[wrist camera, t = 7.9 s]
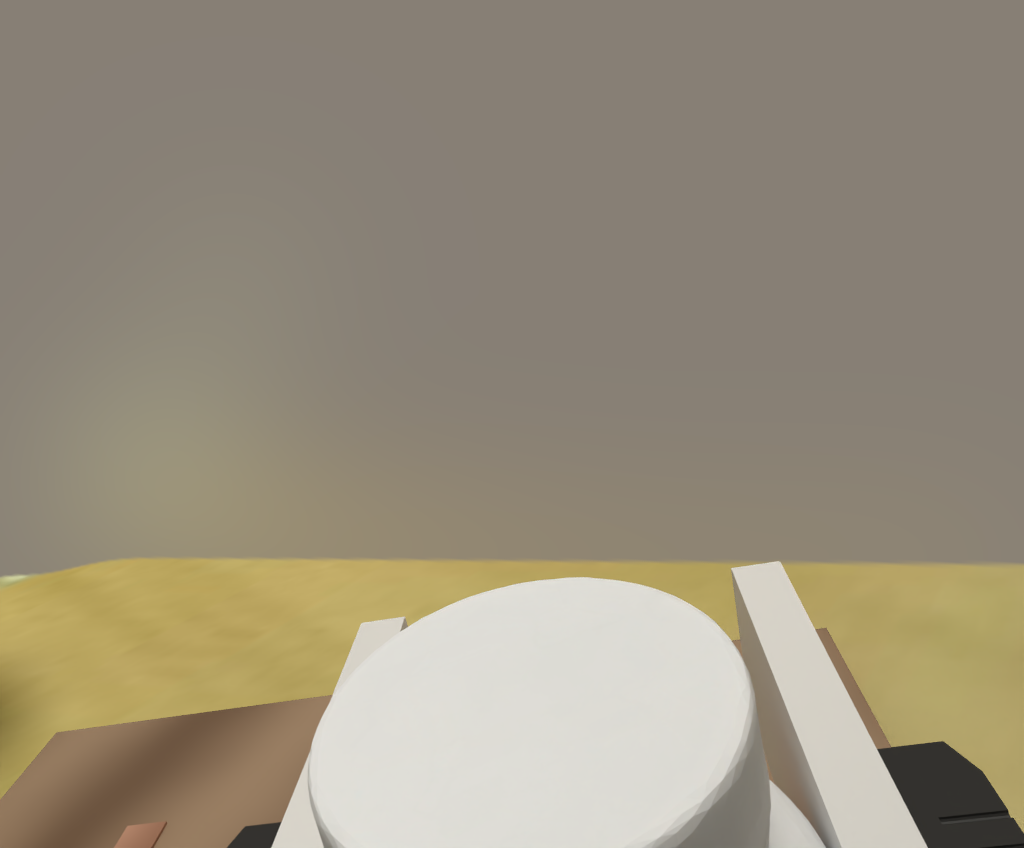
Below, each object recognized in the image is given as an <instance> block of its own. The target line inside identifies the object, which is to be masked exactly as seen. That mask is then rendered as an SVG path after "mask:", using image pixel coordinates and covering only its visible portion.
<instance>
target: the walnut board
mask: <svg viewBox="0 0 1024 848" xmlns="http://www.w3.org/2000/svg"><path fill="white" fill-rule="evenodd" d="M815 630H816V632H817V634H818V636H819V638H820V640H821V642H822V644H823V646H824V648H825V650H826V652H827V654H828V656H829V657H830V659H831V661H832V663H833V665H834V667H835V669H836V671H837V673H838V675H839V677H840V679H841V681H842V683H843V685H844V687H845V688H846V690H847V692H848V694H849V696H850V698H851V700H852V702H853V704H854V706H855V708H856V710H857V712H858V714H859V716H860V717H861V719H862V721H863V723H864V725H865V727H866V729H867V731H868V733H869V735H870V737H871V739H872V741H873V743H874V745H875V747H876V748H877V749H882V748H891V746H890V744H889V742H888V740H887V738H886V737H885V735H884V733H883V731H882V729H881V727H880V726H879V724H878V722H877V720H876V718H875V716H874V715H873V713H872V711H871V709H870V707H869V705H868V704H867V702H866V700H865V698H864V696H863V694H862V693H861V691H860V689H859V687H858V685H857V683H856V682H855V680H854V678H853V676H852V674H851V672H850V671H849V669H848V667H847V665H846V663H845V661H844V659H843V658H842V656H841V654H840V652H839V650H838V648H837V647H836V645H835V643H834V641H833V639H832V637H831V636H830V634H829V632H828V630H827V628H822V629H815ZM732 642H733V644H734V645H735V647H736V648H737V649H738V651H739V652H740V654H741V656H742V648H741V640H733V641H732ZM742 659H743V656H742ZM331 698H332V695H329V696H322V697H314V698H307V699H300V700H292V701H285V702H278V703H270V704H263V705H256V706H248V707H241V708H234V709H226V710H219V711H212V712H204V713H197V714H190V715H182V716H175V717H167V718H160V719H153V720H145V721H138V722H131V723H123V724H116V725H109V726H101V727H94V728H87V729H79V730H72V731H65V732H57V733H56V734H55V735H54V736H53V737H52V739H51V740H50V741H49V742H48V743H47V745H46V746H45V747H44V748H43V749H42V751H41V752H40V753H39V754H38V755H37V757H36V758H35V759H34V760H33V761H32V763H31V764H30V765H29V766H28V767H27V769H26V770H25V771H24V772H23V773H22V775H21V776H20V777H19V778H18V779H17V780H16V782H15V783H14V784H13V785H12V786H11V788H10V789H9V790H8V791H7V792H6V794H5V795H4V796H3V797H2V798H1V800H0V848H227V847H228V845H229V844H230V843H231V842H232V841H233V840H234V839H235V837H236V836H237V835H238V834H239V833H240V832H241V830H242V829H243V828H244V827H245V826H252V825H260V824H268V823H277V822H282V820H283V817H284V815H285V812H286V810H287V807H288V805H289V802H290V800H291V797H292V795H293V792H294V790H295V788H296V785H297V783H298V780H299V778H300V775H301V773H302V770H303V768H304V765H305V763H306V760H307V758H308V755H309V753H310V750H311V745H312V741H313V738H314V735H315V732H316V730H317V727H318V725H319V723H320V720H321V718H322V716H323V714H324V712H325V710H326V708H327V707H328V705H329V703H330V700H331ZM764 755H765V753H764ZM765 759H766V756H765ZM766 764H767V769H768V774H769V780H771V781H772V782H773V783H774V780H773V777H772V774H771V771H770V768H769V765H768V762H767V759H766ZM774 784H775V783H774Z"/></svg>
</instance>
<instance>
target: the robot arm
mask: <svg viewBox="0 0 1024 848" xmlns="http://www.w3.org/2000/svg"><path fill="white" fill-rule="evenodd" d="M731 571H732V579H733V586H734V594H735V602H736V609H737V617H738V625H739V633H740V640H741V648H742V656H743V661H744V663H745V665H746V667H747V669H748V671H749V673H750V677H751V681H752V684H753V688H754V692H755V699H756V705H757V712H758V719H759V726H760V732H761V738H762V744H763V750H764V753H765V756H766V759H767V762H768V765H769V768H770V771H771V774H772V777H773V780H774V783H775V785H776V786H777V787H778V788H779V789H780V790H781V791H782V792H783V793H784V794H785V795H786V796H787V797H788V798H789V799H790V800H791V801H792V802H793V803H794V804H795V805H796V807H797V808H798V809H799V810H800V811H801V812H802V813H803V815H804V816H805V817H806V818H807V820H808V821H809V822H810V824H811V825H812V827H813V828H814V829H815V831H816V832H817V834H818V836H819V837H820V839H821V840H822V842H823V844H824V845H825V847H826V848H1024V833H1023V832H1022V830H1021V829H1020V827H1019V826H1018V824H1017V823H1016V821H1015V820H1014V818H1011V817H1010V816H1009V813H1008V809H1007V808H1006V806H1005V805H1004V803H1003V802H1002V800H1001V799H1000V797H999V796H998V794H997V793H996V791H995V790H994V788H993V787H992V785H991V784H990V782H989V781H988V779H987V778H986V776H985V775H984V773H983V772H982V771H981V770H980V769H979V768H977V767H976V766H975V765H973V764H972V763H971V762H969V761H968V760H967V759H966V758H964V757H963V756H962V755H960V754H959V753H958V752H956V751H955V750H954V749H953V748H951V747H950V746H949V745H947V744H946V743H945V742H943V741H942V742H933V743H925V744H916V745H908V746H899V747H891V748H882V749H877V748H876V747H875V745H874V743H873V741H872V739H871V737H870V735H869V733H868V731H867V729H866V727H865V725H864V723H863V721H862V719H861V717H860V716H859V714H858V712H857V710H856V708H855V706H854V704H853V702H852V700H851V698H850V696H849V694H848V692H847V690H846V688H845V687H844V685H843V683H842V681H841V679H840V677H839V675H838V673H837V671H836V669H835V667H834V665H833V663H832V661H831V659H830V657H829V656H828V654H827V652H826V650H825V648H824V646H823V644H822V642H821V640H820V638H819V636H818V634H817V632H816V630H815V628H814V626H813V625H812V623H811V621H810V619H809V617H808V615H807V613H806V611H805V609H804V607H803V605H802V603H801V601H800V599H799V597H798V595H797V594H796V592H795V590H794V588H793V586H792V584H791V582H790V580H789V578H788V576H787V574H786V572H785V570H784V568H783V566H782V564H781V563H780V561H777V562H770V563H764V564H757V565H750V566H743V567H737V568H731ZM407 627H408V626H407V622H406V619H405V617H399V618H392V619H386V620H379V621H372V622H365V623H361V626H360V628H359V631H358V633H357V636H356V638H355V641H354V643H353V646H352V648H351V651H350V653H349V656H348V658H347V661H346V663H345V666H344V668H343V671H342V673H341V676H340V678H339V680H338V683H337V685H336V688H335V690H334V693H333V695H332V698H333V696H334V695H335V693H336V692H337V690H338V689H339V688H340V686H341V685H342V684H343V683H344V682H345V681H346V679H347V678H348V677H349V676H350V675H351V673H352V672H353V671H354V670H355V669H356V668H357V667H358V666H359V665H360V664H361V663H362V662H363V661H364V660H365V659H367V658H368V657H369V656H370V655H371V654H372V653H373V652H374V651H375V650H376V649H378V648H379V647H380V646H382V645H383V644H384V643H386V642H387V641H388V640H389V639H391V638H392V637H393V636H395V635H396V634H397V633H399V632H401V631H402V630H404V629H405V628H407ZM332 698H331V700H332ZM331 700H330V701H331ZM309 755H310V753H309ZM309 755H308V758H307V760H306V763H305V765H304V768H303V770H302V773H301V775H300V778H299V780H298V783H297V785H296V788H295V790H294V792H293V795H292V797H291V800H290V802H289V805H288V807H287V810H286V812H285V815H284V817H283V820H282V822H277V823H268V824H260V825H252V826H245V827H244V828H243V829H242V830H241V832H240V833H239V834H238V835H237V836H236V837H235V839H234V840H233V841H232V842H231V843H230V844H229V845H228V847H227V848H324V846H323V843H322V840H321V837H320V834H319V831H318V827H317V824H316V821H315V818H314V815H313V812H312V808H311V805H310V798H309V790H308V764H309Z"/></svg>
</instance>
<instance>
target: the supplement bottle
mask: <svg viewBox="0 0 1024 848" xmlns="http://www.w3.org/2000/svg"><path fill="white" fill-rule="evenodd" d="M308 790H309V798H310V805H311V808H312V812H313V815H314V818H315V821H316V824H317V827H318V831H319V834H320V837H321V840H322V843H323V846H324V848H826V847H825V845H824V844H823V842H822V840H821V839H820V837H819V836H818V834H817V832H816V831H815V829H814V828H813V827H812V825H811V824H810V822H809V821H808V820H807V818H806V817H805V816H804V815H803V813H802V812H801V811H800V810H799V809H798V808H797V807H796V805H795V804H794V803H793V802H792V801H791V800H790V799H789V798H788V797H787V796H786V795H785V794H784V793H783V792H782V791H781V790H780V789H779V788H778V787H777V786H776V785H775V784H774V783H773V782H772V781H771V780H769V774H768V769H767V764H766V759H765V755H764V750H763V744H762V738H761V732H760V726H759V719H758V712H757V705H756V699H755V692H754V688H753V684H752V681H751V677H750V673H749V671H748V669H747V667H746V665H745V663H744V661H743V659H742V656H741V654H740V652H739V651H738V649H737V648H736V647H735V645H734V644H733V642H732V641H731V640H730V638H729V637H728V636H727V635H726V633H725V632H724V631H723V630H722V629H721V628H720V627H719V625H718V624H717V623H716V622H715V621H713V620H712V619H711V618H710V617H708V616H707V615H706V614H705V613H703V612H702V611H700V610H698V609H697V608H695V607H694V606H692V605H690V604H689V603H687V602H685V601H683V600H681V599H679V598H678V597H676V596H673V595H670V594H668V593H665V592H663V591H660V590H657V589H654V588H651V587H647V586H643V585H639V584H635V583H629V582H624V581H618V580H609V579H598V578H587V577H578V578H561V579H550V580H538V581H532V582H526V583H520V584H514V585H510V586H506V587H502V588H498V589H494V590H490V591H486V592H483V593H480V594H477V595H474V596H471V597H468V598H465V599H463V600H460V601H458V602H456V603H453V604H451V605H448V606H446V607H444V608H442V609H440V610H438V611H436V612H434V613H432V614H430V615H428V616H426V617H424V618H422V619H420V620H418V621H417V622H415V623H413V624H412V625H410V626H409V627H407V628H405V629H404V630H402V631H401V632H399V633H397V634H396V635H395V636H393V637H392V638H391V639H389V640H388V641H387V642H386V643H384V644H383V645H382V646H380V647H379V648H378V649H376V650H375V651H374V652H373V653H372V654H371V655H370V656H369V657H368V658H367V659H365V660H364V661H363V662H362V663H361V664H360V665H359V666H358V667H357V668H356V669H355V670H354V671H353V672H352V673H351V675H350V676H349V677H348V678H347V679H346V681H345V682H344V683H343V684H342V685H341V686H340V688H339V689H338V690H337V692H336V693H335V695H334V696H333V698H332V700H331V701H330V703H329V705H328V707H327V708H326V710H325V712H324V714H323V716H322V718H321V720H320V723H319V725H318V727H317V730H316V732H315V735H314V738H313V741H312V745H311V750H310V755H309V764H308Z"/></svg>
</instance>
